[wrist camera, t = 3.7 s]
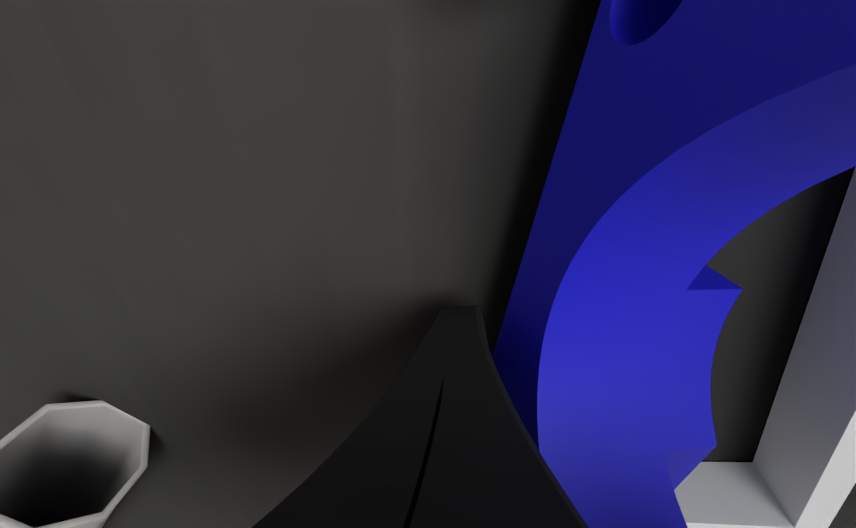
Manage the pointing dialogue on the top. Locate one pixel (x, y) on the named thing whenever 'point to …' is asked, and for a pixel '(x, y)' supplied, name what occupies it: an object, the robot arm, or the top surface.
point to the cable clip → (663, 231)
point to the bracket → (798, 417)
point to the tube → (70, 465)
